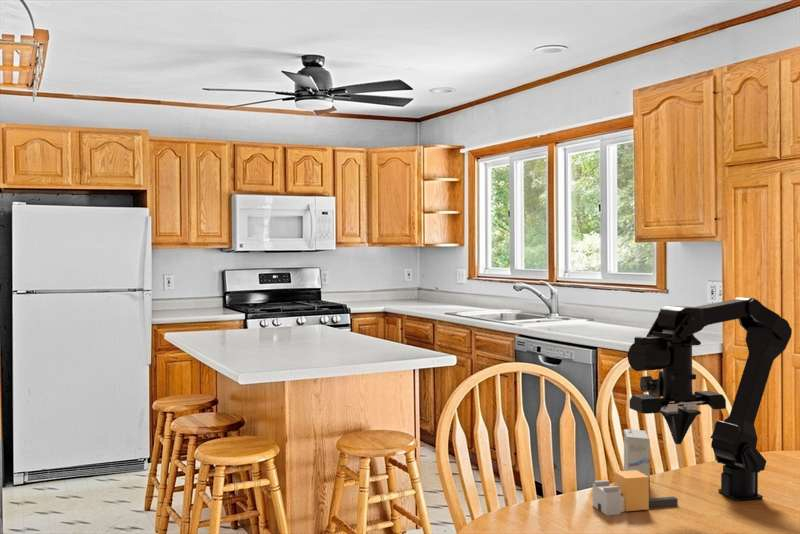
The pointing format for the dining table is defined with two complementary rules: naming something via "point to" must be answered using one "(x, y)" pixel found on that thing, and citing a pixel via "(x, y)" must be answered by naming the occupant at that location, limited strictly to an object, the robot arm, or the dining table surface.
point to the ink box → (637, 452)
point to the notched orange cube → (633, 489)
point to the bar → (659, 502)
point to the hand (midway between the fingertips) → (677, 443)
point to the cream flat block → (622, 503)
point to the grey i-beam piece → (607, 497)
